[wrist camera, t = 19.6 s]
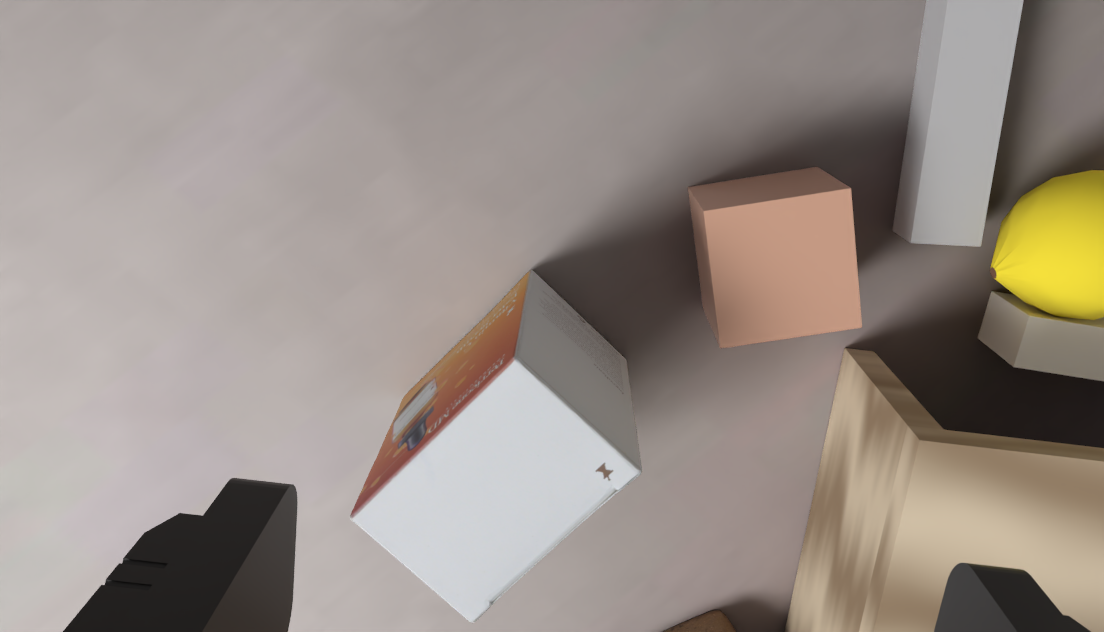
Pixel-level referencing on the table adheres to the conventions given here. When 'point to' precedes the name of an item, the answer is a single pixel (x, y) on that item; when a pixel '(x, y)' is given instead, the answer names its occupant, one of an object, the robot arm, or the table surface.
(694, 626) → the candle holder
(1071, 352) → the white bar
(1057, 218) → the lemon
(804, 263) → the terracotta block
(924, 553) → the cubby
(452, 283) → the table surface
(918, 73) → the grey stick
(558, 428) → the small box
